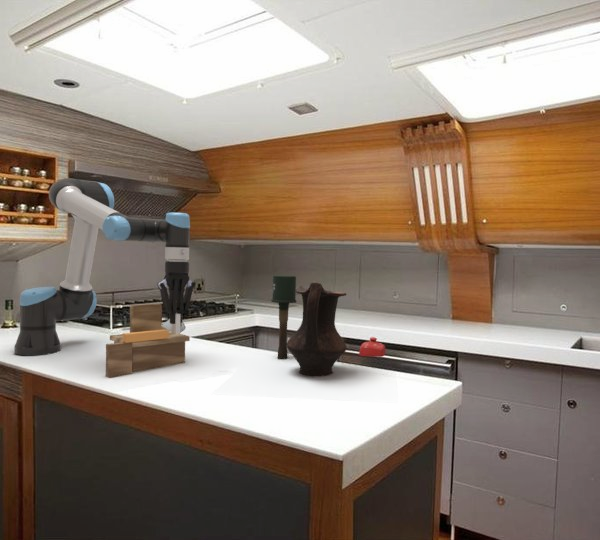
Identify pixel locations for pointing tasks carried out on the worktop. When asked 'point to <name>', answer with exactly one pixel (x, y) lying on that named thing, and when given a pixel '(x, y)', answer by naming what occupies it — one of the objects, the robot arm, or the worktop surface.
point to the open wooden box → (141, 357)
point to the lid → (148, 325)
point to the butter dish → (372, 348)
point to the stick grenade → (283, 307)
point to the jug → (317, 332)
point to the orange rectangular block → (145, 335)
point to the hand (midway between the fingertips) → (175, 333)
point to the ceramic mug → (168, 326)
